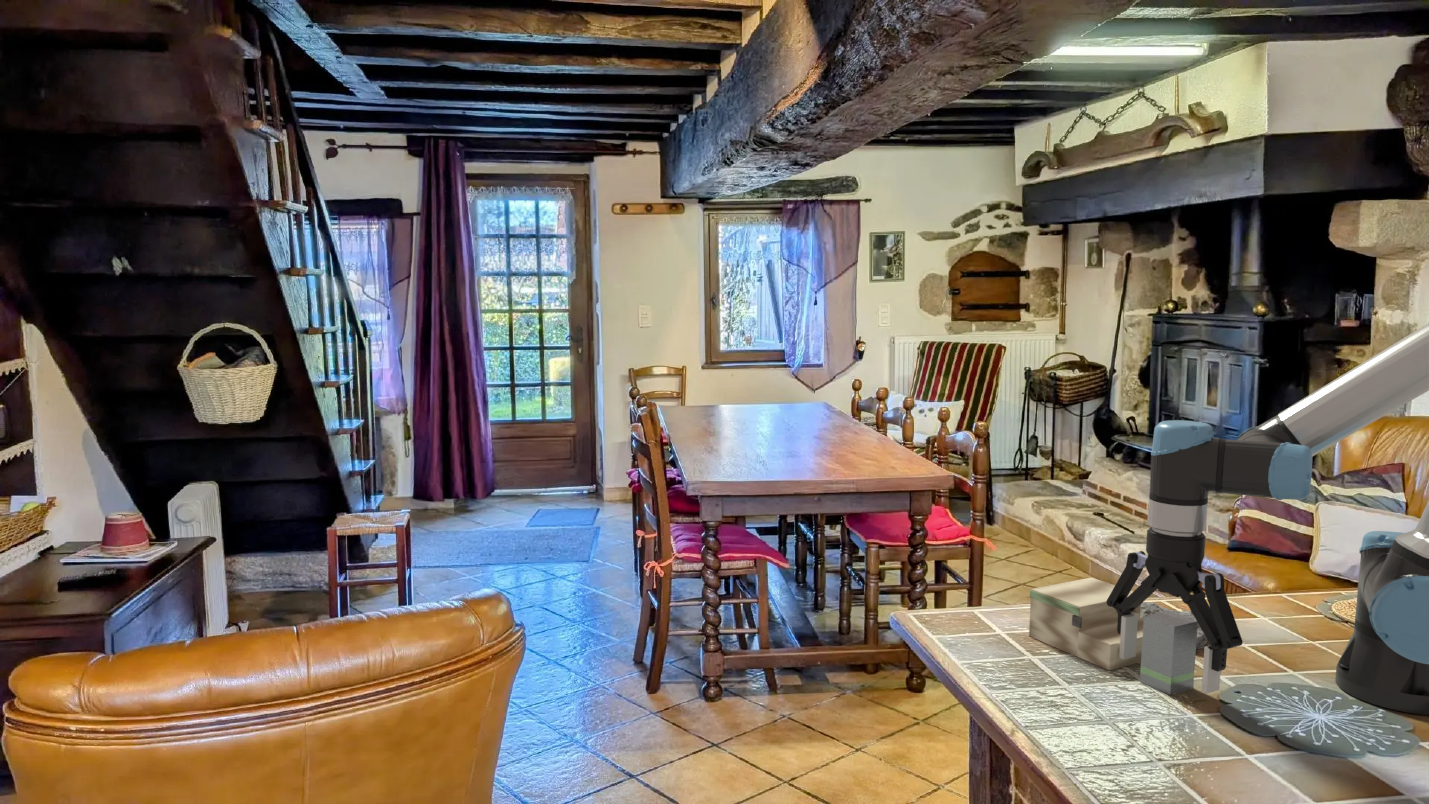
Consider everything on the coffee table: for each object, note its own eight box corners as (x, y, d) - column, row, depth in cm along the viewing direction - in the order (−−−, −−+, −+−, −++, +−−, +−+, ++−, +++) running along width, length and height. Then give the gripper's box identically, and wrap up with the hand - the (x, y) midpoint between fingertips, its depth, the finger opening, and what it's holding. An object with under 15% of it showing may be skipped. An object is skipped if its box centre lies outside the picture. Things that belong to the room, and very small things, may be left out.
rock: (1220, 644, 156) (1223, 614, 156) (1187, 655, 151) (1190, 624, 150) (1147, 620, 167) (1149, 592, 166) (1114, 630, 162) (1116, 601, 161)
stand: (1171, 654, 151) (1174, 604, 150) (1107, 670, 144) (1110, 619, 143) (1088, 622, 165) (1091, 577, 164) (1027, 636, 158) (1029, 589, 157)
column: (1193, 688, 138) (1197, 621, 137) (1170, 695, 136) (1174, 626, 134) (1162, 675, 142) (1166, 610, 141) (1139, 682, 140) (1143, 615, 139)
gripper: (1278, 547, 127) (1267, 701, 129) (1120, 509, 149) (1113, 640, 151) (1243, 554, 123) (1231, 712, 126) (1086, 514, 145) (1079, 648, 148)
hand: (1167, 673), depth 139 cm, fingers open, 13 cm apart
